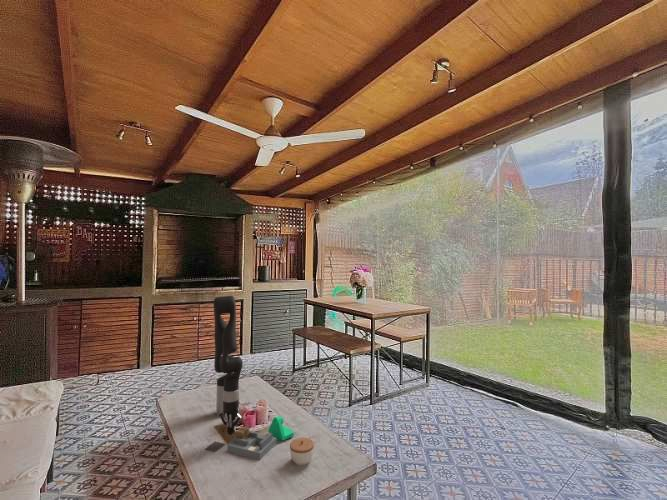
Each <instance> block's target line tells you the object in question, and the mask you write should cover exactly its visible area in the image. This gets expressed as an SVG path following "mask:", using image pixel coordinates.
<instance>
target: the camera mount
mask: <svg viewBox="0 0 667 500" xmlns="http://www.w3.org/2000/svg"><path fill="white" fill-rule="evenodd" d="M283 424H284V418H283V416H282V415H277V416H275V417H273V419H272V421H271V424H270V425H269V428H268V432H269V434H270V433H271V434H272V437H275V438H276V440H281V441H282V442H283V441H285V440H288V439H291V438H292V437H294V436H295V432H294V431H293V430H292V429H290V428H289V427H287V426H285V425H283Z"/></svg>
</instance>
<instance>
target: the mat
mask: <svg viewBox="0 0 667 500" xmlns="http://www.w3.org/2000/svg"><path fill="white" fill-rule="evenodd" d="M224 446H226V443H223V442H220V441H213V442H212V443H210V445H208V446H207V447H206V448H204V450H205V451H209V452H213V453H216V452H217V451H218V450H220V449H221V448H222V447H224Z"/></svg>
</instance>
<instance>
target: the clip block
mask: <svg viewBox="0 0 667 500" xmlns="http://www.w3.org/2000/svg"><path fill="white" fill-rule="evenodd" d="M249 431H250V428H249V427H247V426H241V427H239V428H238V429H237V430H236V431H235V437H236V438H240V439H245V440H247V439H248V438H249Z"/></svg>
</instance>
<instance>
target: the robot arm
mask: <svg viewBox="0 0 667 500" xmlns="http://www.w3.org/2000/svg"><path fill="white" fill-rule="evenodd" d="M236 307H237V305H236V299H235V297H234V296H233V295H225V296H217V297H215V298H214V299H213V317H214V364H213V365H214V371H215V373H218V374H220V373H223V374H224V375H222V376H220V377H218V378H217V380H216V403H215V404H216V405H215V406H216V407H215V411H216V413H215V414H216V416H217V417H219V418H220V420H221V422H222V423H223V425H224V426H226V429H227V432H226V433H227V435H228V436H232V435H233V434H234V432H235V427H236V426H238V424H239V423H240V422H241V420H242V419H243V417H244V416H243V415H240V411H239V407H240V392H239V388H240V386H239V383H240V382H239V381H240V375H241V372H242V370H243V366H244V365H243V362H244V361H243V359H242V358H241V357H240V356H233V355H232V354H234V353H236V352H237V351H238V344H237V331H236V330H237V329H236V328H237V308H236ZM225 314H229V320H228V321H227V322H226V321H225V320H224V318H223V316H222V315H225Z"/></svg>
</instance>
